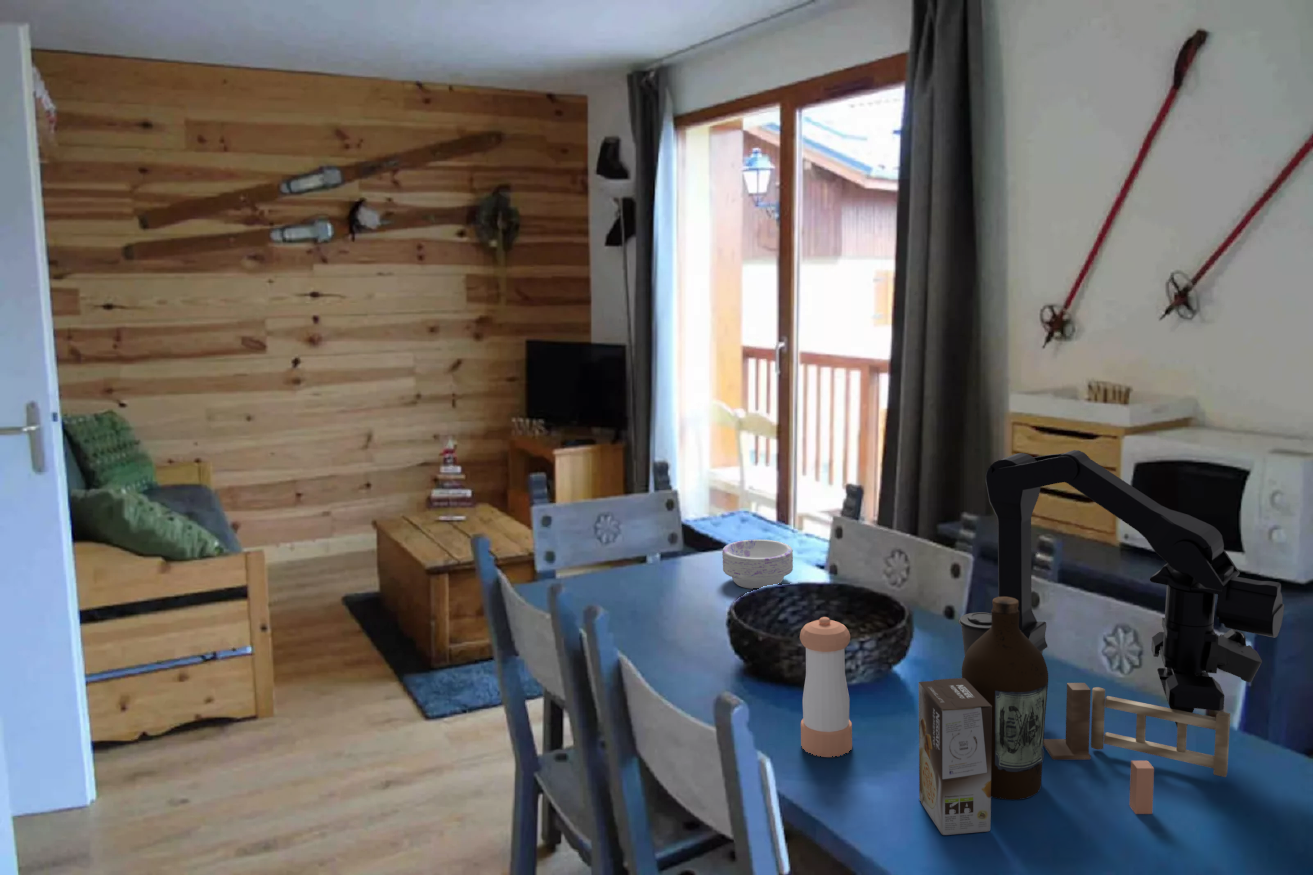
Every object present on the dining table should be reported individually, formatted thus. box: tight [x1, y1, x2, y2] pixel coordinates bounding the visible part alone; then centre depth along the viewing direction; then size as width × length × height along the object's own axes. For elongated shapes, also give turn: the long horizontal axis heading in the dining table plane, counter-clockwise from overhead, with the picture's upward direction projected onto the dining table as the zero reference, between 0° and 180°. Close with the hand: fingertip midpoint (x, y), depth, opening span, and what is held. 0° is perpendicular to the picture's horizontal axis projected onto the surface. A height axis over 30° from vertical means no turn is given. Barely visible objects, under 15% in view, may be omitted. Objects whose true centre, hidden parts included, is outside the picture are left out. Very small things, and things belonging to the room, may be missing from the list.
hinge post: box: [1043, 682, 1092, 761], centre depth 144 cm, size 5×5×10 cm
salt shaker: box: [799, 616, 853, 758], centre depth 148 cm, size 7×7×19 cm
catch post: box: [1128, 760, 1155, 815], centre depth 128 cm, size 2×2×6 cm
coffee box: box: [918, 677, 992, 836], centre depth 128 cm, size 9×6×16 cm
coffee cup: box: [957, 611, 992, 656], centre depth 172 cm, size 8×8×10 cm
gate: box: [1090, 686, 1231, 778], centre depth 139 cm, size 17×2×8 cm, turn 53°
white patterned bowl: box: [722, 539, 794, 590], centre depth 226 cm, size 15×15×8 cm
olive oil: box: [961, 596, 1049, 801], centre depth 135 cm, size 11×11×25 cm
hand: (1181, 728), depth 140 cm, fingers closed
